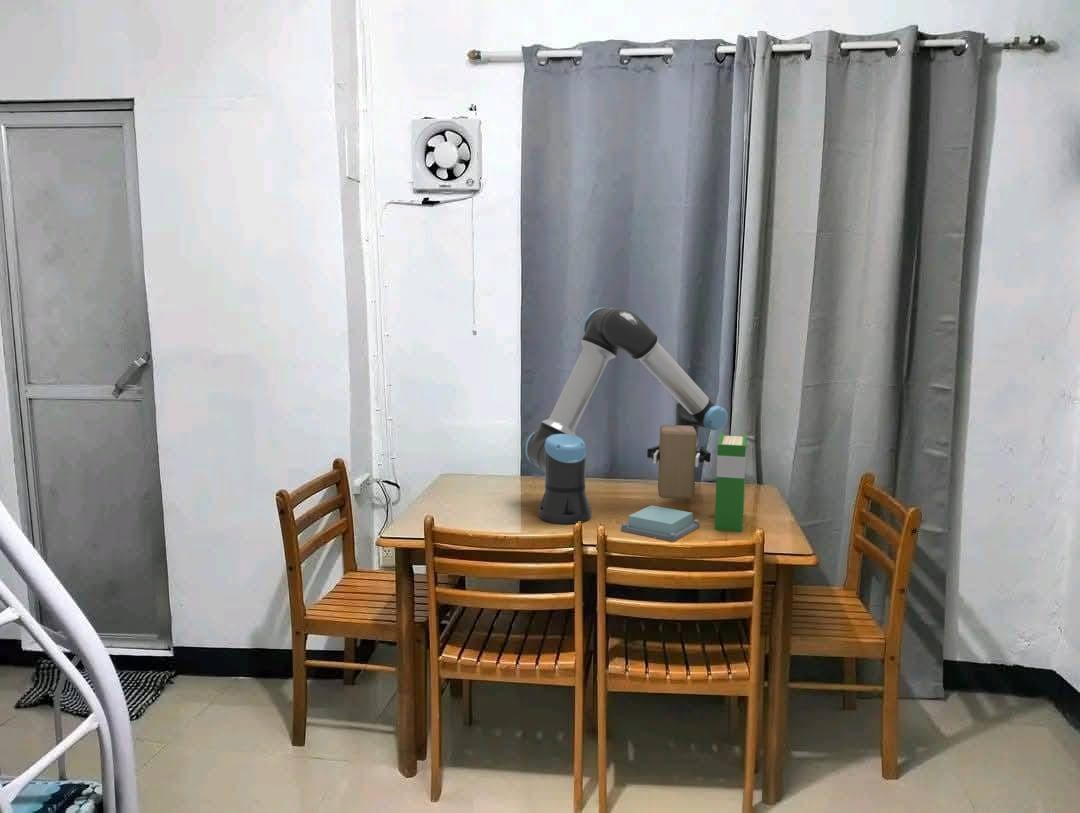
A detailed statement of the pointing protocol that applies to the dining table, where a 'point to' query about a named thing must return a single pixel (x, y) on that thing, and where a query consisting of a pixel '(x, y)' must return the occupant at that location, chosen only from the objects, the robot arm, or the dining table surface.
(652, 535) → the base plate
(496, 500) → the dining table surface
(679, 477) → the wooden block
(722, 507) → the hardback book
